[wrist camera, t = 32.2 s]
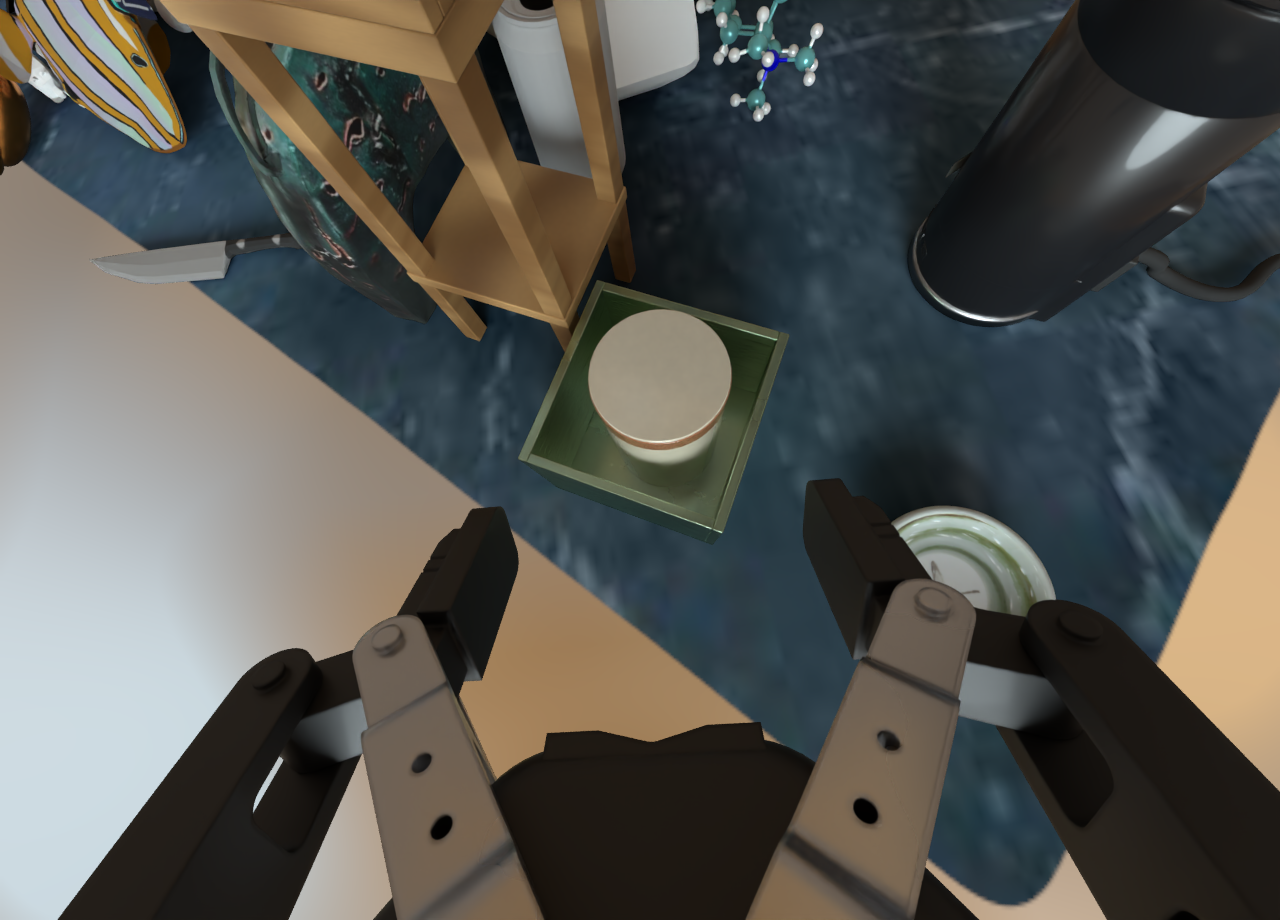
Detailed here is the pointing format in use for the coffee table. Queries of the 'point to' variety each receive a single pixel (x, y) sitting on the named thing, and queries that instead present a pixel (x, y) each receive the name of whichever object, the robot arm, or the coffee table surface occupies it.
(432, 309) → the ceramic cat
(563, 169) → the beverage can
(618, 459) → the open box
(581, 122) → the wooden stand
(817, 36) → the molecule model
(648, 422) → the tumbler
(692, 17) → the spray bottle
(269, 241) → the chef's knife
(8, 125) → the figurine
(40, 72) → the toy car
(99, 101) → the decorative fish
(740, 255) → the coffee table surface
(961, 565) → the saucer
